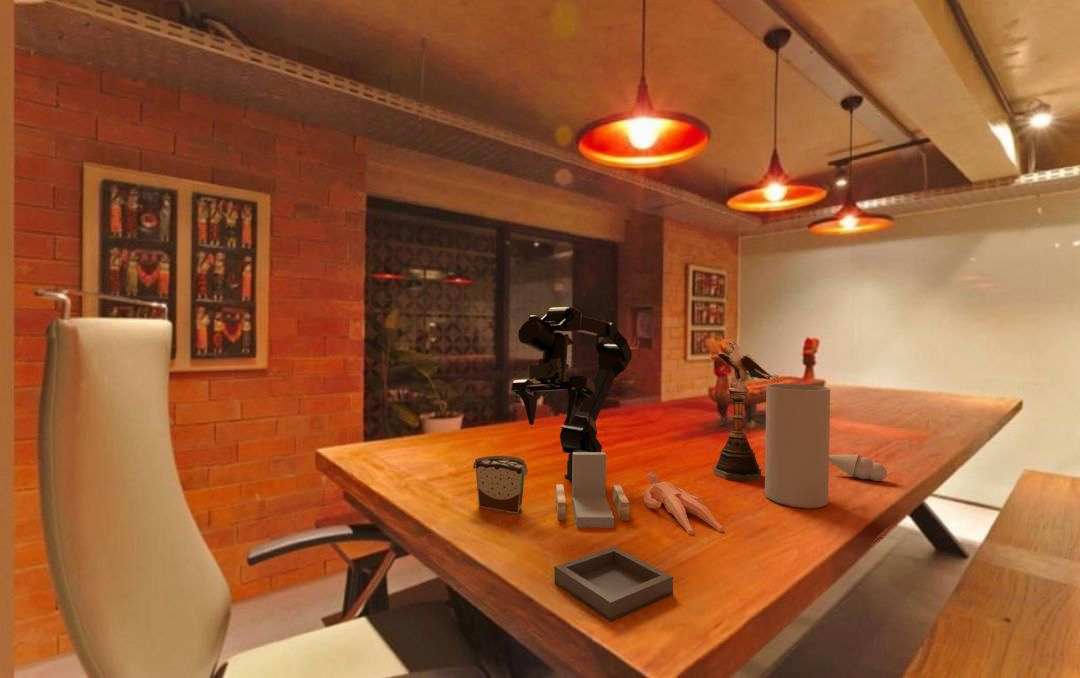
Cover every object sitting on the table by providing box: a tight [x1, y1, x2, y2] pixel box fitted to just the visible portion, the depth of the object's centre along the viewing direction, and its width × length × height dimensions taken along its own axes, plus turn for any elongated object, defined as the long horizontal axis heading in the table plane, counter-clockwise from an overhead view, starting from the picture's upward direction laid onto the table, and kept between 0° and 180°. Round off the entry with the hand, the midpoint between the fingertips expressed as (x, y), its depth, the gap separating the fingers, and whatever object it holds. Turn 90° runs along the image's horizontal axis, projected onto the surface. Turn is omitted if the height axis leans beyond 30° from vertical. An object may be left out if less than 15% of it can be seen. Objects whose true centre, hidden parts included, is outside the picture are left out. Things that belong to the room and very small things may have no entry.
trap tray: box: [554, 546, 674, 622], centre depth 73 cm, size 12×12×2 cm
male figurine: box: [643, 471, 725, 535], centre depth 105 cm, size 11×5×25 cm
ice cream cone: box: [829, 453, 888, 482], centre depth 129 cm, size 6×6×15 cm
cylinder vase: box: [764, 383, 831, 509], centre depth 112 cm, size 12×12×25 cm
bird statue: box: [713, 341, 780, 483], centre depth 132 cm, size 17×13×35 cm
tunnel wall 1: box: [555, 483, 567, 521], centre depth 105 cm, size 12×2×4 cm, turn 0°
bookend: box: [571, 451, 615, 529], centre depth 102 cm, size 14×7×11 cm, turn 0°
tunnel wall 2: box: [612, 483, 630, 522], centre depth 105 cm, size 12×2×4 cm, turn 0°
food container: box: [472, 455, 529, 515], centre depth 107 cm, size 12×6×10 cm, turn 65°
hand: (549, 424), depth 112 cm, fingers open, 9 cm apart
